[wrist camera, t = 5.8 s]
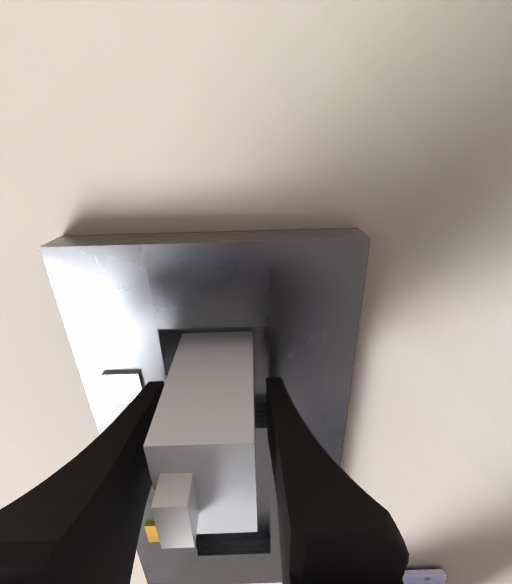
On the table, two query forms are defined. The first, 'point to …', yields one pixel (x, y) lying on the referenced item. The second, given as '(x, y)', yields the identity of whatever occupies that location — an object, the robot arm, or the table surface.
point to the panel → (216, 318)
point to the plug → (205, 441)
